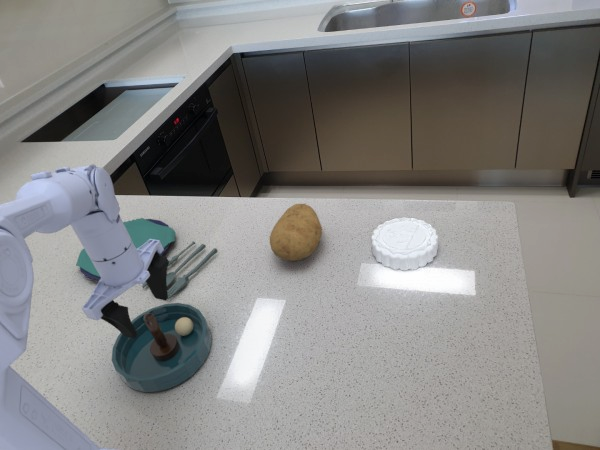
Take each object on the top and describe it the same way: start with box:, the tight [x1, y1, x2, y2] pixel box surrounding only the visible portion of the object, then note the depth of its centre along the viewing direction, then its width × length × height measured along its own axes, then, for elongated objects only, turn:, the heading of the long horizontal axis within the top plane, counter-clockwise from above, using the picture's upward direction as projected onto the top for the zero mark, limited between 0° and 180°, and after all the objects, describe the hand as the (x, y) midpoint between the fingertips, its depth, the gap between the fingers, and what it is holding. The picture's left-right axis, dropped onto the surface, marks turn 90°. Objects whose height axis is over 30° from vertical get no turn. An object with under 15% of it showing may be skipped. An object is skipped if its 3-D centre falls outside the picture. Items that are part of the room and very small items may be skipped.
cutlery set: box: [75, 217, 218, 300], centre depth 96 cm, size 20×30×2 cm, turn 56°
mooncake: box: [370, 216, 439, 272], centre depth 85 cm, size 12×12×4 cm
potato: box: [269, 203, 323, 262], centre depth 88 cm, size 10×14×8 cm
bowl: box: [111, 302, 213, 393], centre depth 74 cm, size 15×15×4 cm
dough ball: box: [175, 317, 193, 336], centre depth 77 cm, size 3×3×3 cm
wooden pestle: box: [144, 313, 179, 361], centre depth 73 cm, size 4×4×9 cm
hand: (147, 316), depth 70 cm, fingers open, 7 cm apart
